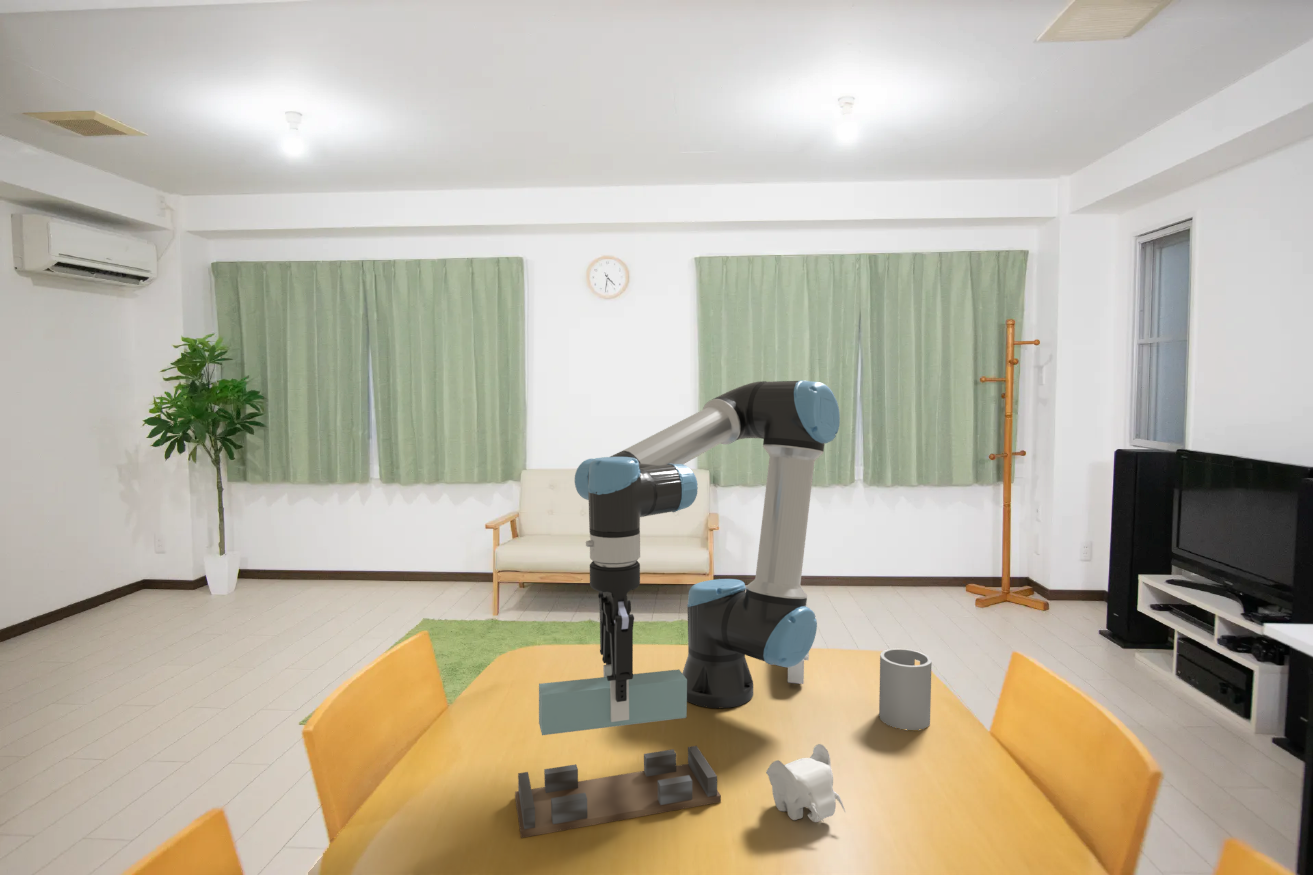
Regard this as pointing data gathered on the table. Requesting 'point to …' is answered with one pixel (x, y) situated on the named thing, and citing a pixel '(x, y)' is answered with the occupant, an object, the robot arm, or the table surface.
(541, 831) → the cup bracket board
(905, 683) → the cup
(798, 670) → the shelf bracket
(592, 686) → the rail
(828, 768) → the elephant figurine
